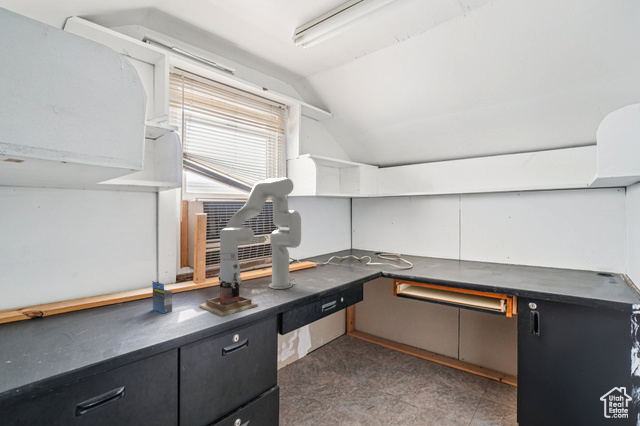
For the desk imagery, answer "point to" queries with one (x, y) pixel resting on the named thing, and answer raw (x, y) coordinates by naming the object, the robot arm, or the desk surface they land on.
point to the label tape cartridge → (161, 298)
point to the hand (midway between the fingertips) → (229, 294)
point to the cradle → (228, 306)
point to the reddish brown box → (227, 295)
